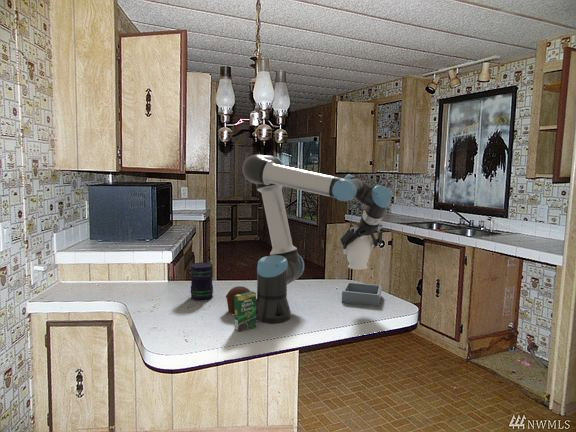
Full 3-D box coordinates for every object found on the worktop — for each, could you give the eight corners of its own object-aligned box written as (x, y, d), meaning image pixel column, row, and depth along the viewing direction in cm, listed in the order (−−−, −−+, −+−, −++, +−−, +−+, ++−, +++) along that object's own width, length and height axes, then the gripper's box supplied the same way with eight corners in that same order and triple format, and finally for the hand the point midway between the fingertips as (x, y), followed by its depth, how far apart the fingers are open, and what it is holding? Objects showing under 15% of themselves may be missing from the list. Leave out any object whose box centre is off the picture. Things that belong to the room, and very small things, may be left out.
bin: (341, 302, 182) (342, 291, 181) (347, 292, 197) (347, 282, 197) (378, 306, 177) (379, 295, 177) (381, 295, 193) (381, 285, 192)
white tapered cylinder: (371, 270, 170) (372, 234, 169) (346, 270, 171) (347, 234, 170) (368, 265, 181) (369, 231, 180) (344, 265, 182) (345, 231, 181)
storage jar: (200, 302, 177) (200, 268, 175) (185, 297, 183) (185, 265, 181) (217, 297, 185) (217, 264, 183) (203, 292, 191) (203, 261, 189)
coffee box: (237, 332, 146) (237, 296, 144) (233, 329, 148) (233, 294, 147) (256, 327, 151) (257, 292, 149) (252, 325, 153) (252, 290, 151)
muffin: (223, 308, 171) (223, 284, 169) (248, 305, 175) (249, 282, 173) (229, 318, 160) (229, 293, 158) (257, 315, 164) (257, 290, 162)
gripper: (345, 226, 157) (332, 259, 173) (401, 225, 161) (383, 258, 177) (341, 211, 161) (329, 245, 178) (395, 211, 166) (378, 244, 182)
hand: (356, 252), depth 178 cm, fingers closed on white tapered cylinder, 10 cm apart
